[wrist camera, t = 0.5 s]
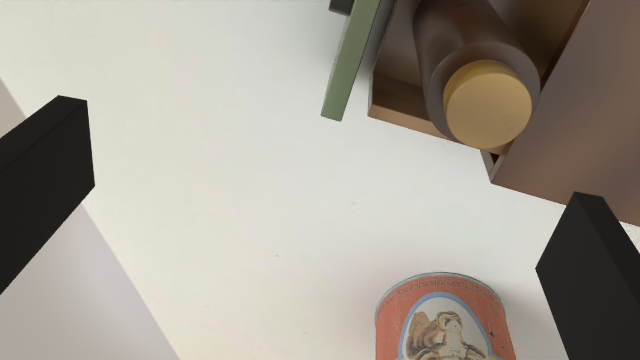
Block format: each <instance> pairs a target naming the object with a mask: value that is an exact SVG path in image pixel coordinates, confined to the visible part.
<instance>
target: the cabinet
mask: <svg viewBox="0 0 640 360" xmlns="http://www.w3.org/2000/svg"><path fill="white" fill-rule="evenodd" d="M540 83H541V91H540V97H539V101H538V104H537V107H536V109H535V111H534V113H533V114H532V116H531V118H530V119H529V121H528V124H527V125H526V127H525V128H524V130H523V131H522V132H521V133H520V134H519V135H518V136H517V137H516V138H514V139H513V140H512V141H510V142H508V143H506V145H505V147H504V149H503V150H502V152H501V154H500V155H497V154H494V153H491V152H487V151H484V150H480V152H481V155H482V158H483V161H484V164H485V167H486V170H487V173H488V176H489V179H490V182H491V184H495V185H498V186H502V187H505V188H508V189H512V190H515V191H519V192H522V193H526V194H529V195H532V196H536V197H539V198H543V199H546V200H550V201H553V202H556V203H560V204H563V205H567V204H568V202H569V200H570V198H571V196H572V194H573V192H574V191H576V192H581V193H586V194H592V195H597V196H602V197H603V198H604V199H605V201H606V203H607V204H608V206H609V207H610V209H611V210H612V212H613V213H614V215H615V216H616V218H617V219H618V221H622V222H625V223H628V224H632V225H635V226H639V227H640V0H583V1H582V3H581V5H580V7H579V9H578V11H577V13H576V14H575V16H574V18H573V20H572V22H571V24H570V26H569V27H568V29H567V31H566V33H565V35H564V37H563V39H562V40H561V42H560V44H559V46H558V48H557V50H556V52H555V54H554V55H553V57H552V59H551V61H550V63H549V65H548V67H547V68H546V70H545V72H544V74H543V76H542V78H541V80H540Z"/></svg>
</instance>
